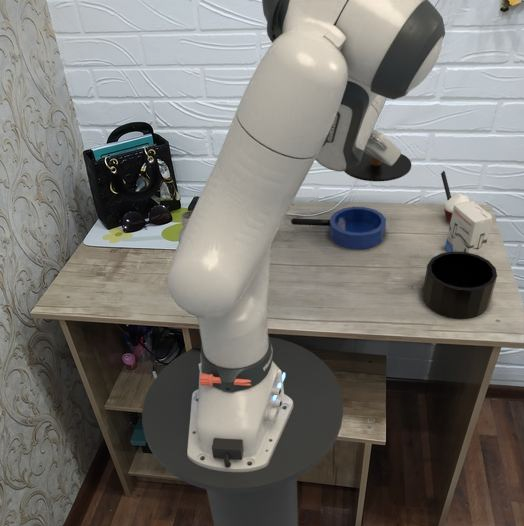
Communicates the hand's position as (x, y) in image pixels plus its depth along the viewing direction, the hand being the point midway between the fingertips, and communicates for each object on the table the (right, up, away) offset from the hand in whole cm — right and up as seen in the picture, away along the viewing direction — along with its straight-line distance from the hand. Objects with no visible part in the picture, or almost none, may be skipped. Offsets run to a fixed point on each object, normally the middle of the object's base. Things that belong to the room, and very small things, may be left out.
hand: (378, 155), depth 125 cm
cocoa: (+23, -10, +20) cm, 32 cm away
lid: (0, -2, +1) cm, 2 cm away
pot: (+16, -32, -3) cm, 36 cm away
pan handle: (-13, -11, +18) cm, 25 cm away
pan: (-2, -14, +17) cm, 22 cm away
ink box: (+22, -21, +9) cm, 31 cm away
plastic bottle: (-39, -30, +3) cm, 50 cm away
